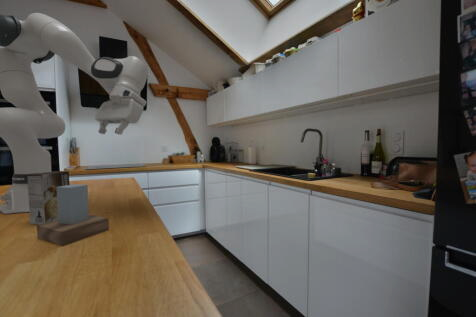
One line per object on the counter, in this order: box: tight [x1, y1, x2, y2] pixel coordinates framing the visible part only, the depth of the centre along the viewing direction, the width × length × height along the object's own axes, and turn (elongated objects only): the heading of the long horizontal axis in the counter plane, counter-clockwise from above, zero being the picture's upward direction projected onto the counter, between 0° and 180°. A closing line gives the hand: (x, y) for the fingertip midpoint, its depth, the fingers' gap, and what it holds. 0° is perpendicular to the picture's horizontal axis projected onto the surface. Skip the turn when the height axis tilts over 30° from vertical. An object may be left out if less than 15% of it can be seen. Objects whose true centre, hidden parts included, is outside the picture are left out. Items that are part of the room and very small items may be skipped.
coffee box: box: [27, 170, 71, 225], centre depth 76 cm, size 9×6×16 cm
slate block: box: [57, 183, 89, 225], centre depth 64 cm, size 5×5×10 cm
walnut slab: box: [36, 214, 110, 247], centre depth 64 cm, size 12×12×4 cm
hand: (109, 133), depth 77 cm, fingers open, 8 cm apart
